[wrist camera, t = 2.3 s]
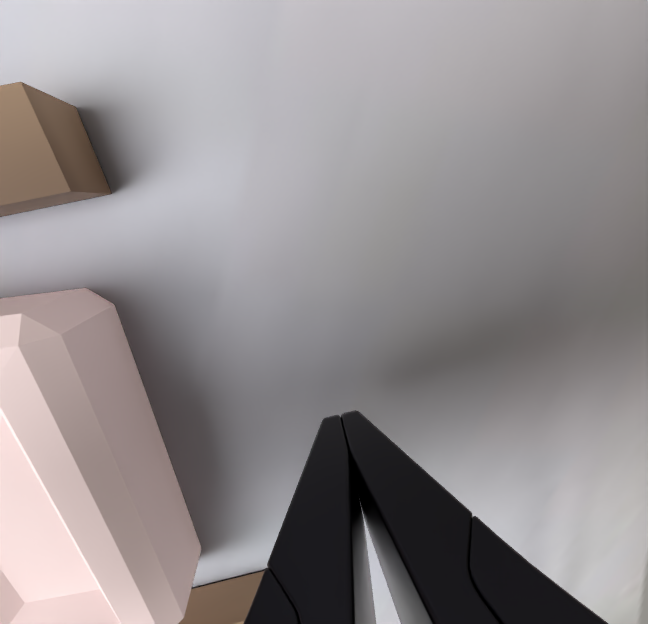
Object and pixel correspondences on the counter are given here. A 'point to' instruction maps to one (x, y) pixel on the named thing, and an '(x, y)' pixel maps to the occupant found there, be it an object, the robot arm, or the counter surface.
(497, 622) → the robot arm
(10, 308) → the soap bar
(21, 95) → the guide channel
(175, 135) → the counter surface
